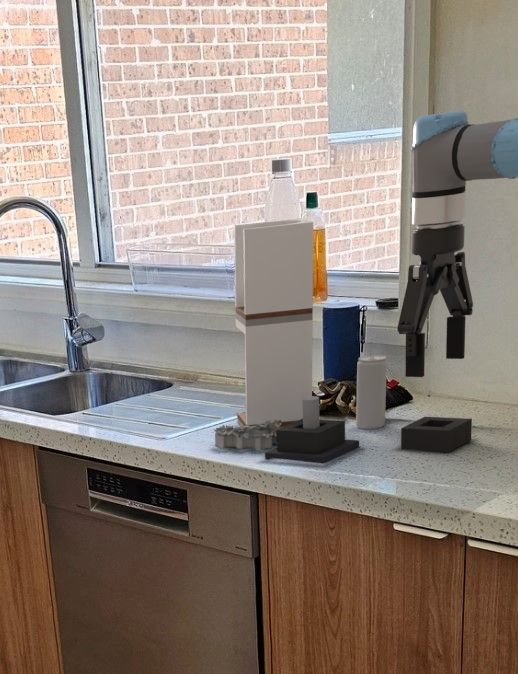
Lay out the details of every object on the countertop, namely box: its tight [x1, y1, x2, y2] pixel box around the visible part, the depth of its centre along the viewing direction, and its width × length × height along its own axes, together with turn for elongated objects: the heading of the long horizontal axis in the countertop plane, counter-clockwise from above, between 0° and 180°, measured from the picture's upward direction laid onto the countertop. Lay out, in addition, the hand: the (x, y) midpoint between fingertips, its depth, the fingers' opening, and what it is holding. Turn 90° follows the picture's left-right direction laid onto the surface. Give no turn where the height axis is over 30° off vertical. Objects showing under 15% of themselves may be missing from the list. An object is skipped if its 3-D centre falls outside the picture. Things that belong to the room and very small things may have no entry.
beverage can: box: [355, 354, 388, 430], centre depth 210 cm, size 5×5×12 cm
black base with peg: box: [264, 395, 360, 464], centre depth 199 cm, size 11×11×10 cm
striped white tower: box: [233, 217, 314, 429], centre depth 215 cm, size 11×11×35 cm
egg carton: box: [213, 420, 282, 451], centre depth 211 cm, size 11×8×4 cm
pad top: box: [400, 416, 473, 453], centre depth 196 cm, size 8×8×4 cm
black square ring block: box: [275, 419, 346, 454], centre depth 200 cm, size 8×8×4 cm
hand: (435, 367), depth 192 cm, fingers open, 13 cm apart
